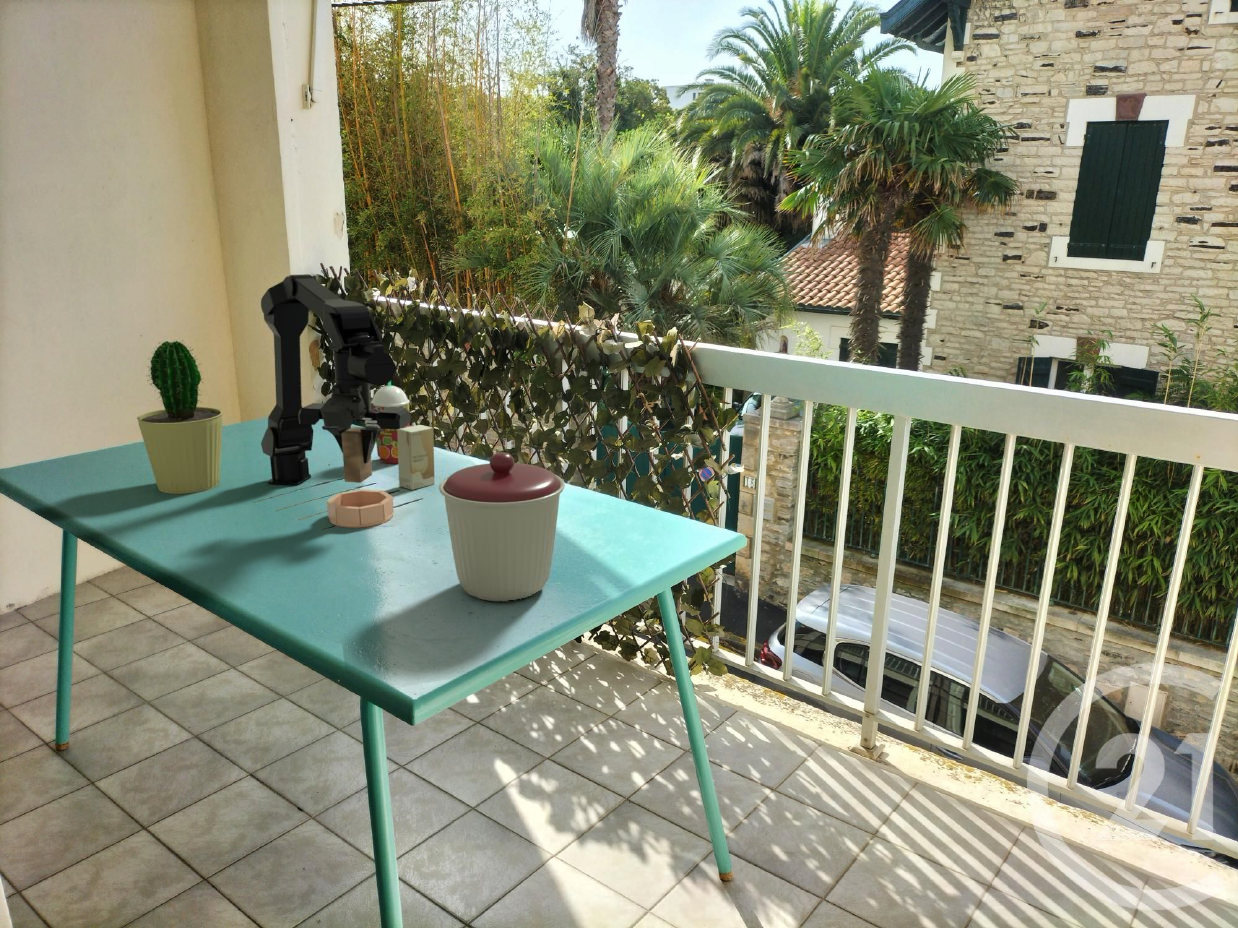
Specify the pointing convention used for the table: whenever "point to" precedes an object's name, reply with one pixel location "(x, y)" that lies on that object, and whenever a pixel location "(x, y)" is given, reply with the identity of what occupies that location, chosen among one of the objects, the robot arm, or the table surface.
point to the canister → (502, 526)
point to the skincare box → (416, 456)
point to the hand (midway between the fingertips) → (357, 462)
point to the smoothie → (389, 437)
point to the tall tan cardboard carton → (354, 456)
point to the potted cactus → (181, 425)
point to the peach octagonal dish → (360, 508)
